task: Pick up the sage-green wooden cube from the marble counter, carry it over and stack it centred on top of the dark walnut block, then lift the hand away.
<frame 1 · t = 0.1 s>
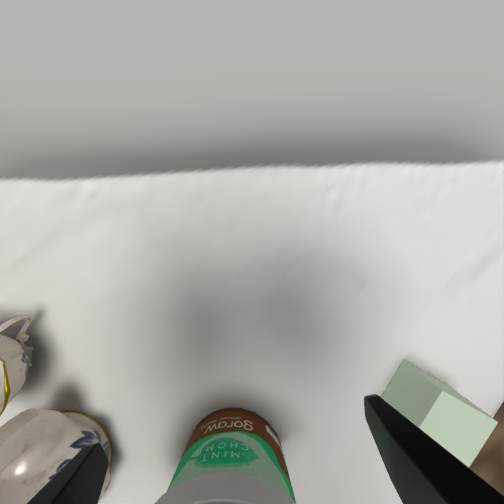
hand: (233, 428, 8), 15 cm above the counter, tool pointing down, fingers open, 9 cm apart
food container: (226, 425, 24), on the counter
sage cube: (411, 393, 24), on the counter
chinaware: (43, 443, 25), on the counter
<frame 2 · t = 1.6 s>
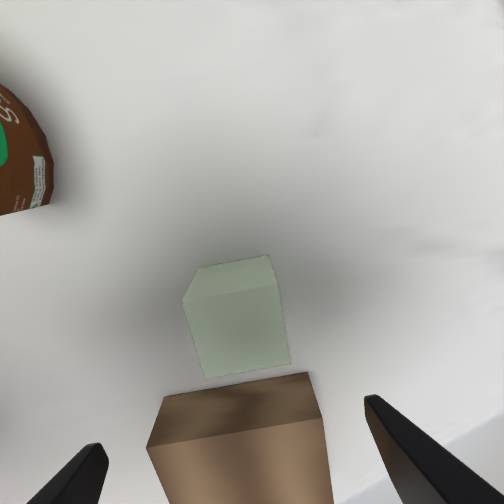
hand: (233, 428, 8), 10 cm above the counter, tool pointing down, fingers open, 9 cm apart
sage cube: (240, 292, 18), on the counter
walnut block: (248, 437, 22), on the counter
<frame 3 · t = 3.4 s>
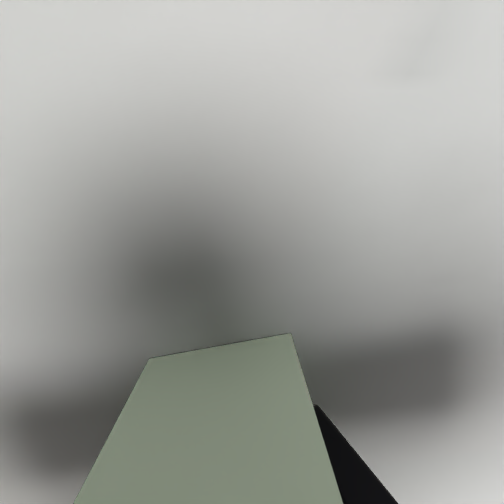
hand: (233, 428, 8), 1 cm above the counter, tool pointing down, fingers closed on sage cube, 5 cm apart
sage cube: (234, 401, 9), on the counter, touching gripper
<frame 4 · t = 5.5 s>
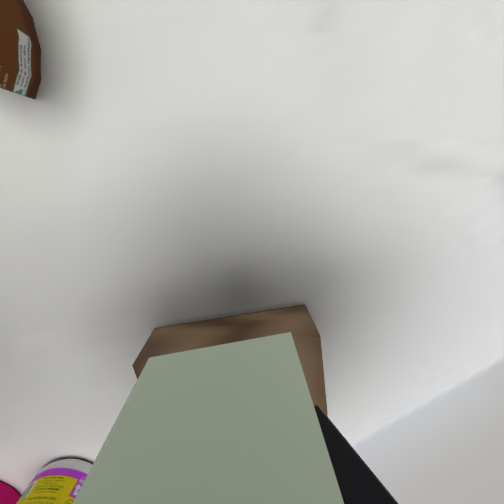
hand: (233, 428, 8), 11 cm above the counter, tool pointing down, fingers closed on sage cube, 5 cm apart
sage cube: (234, 400, 9), point 10 cm above the counter, touching gripper
supplement bottle: (76, 476, 24), on the counter
walnut block: (242, 377, 21), on the counter
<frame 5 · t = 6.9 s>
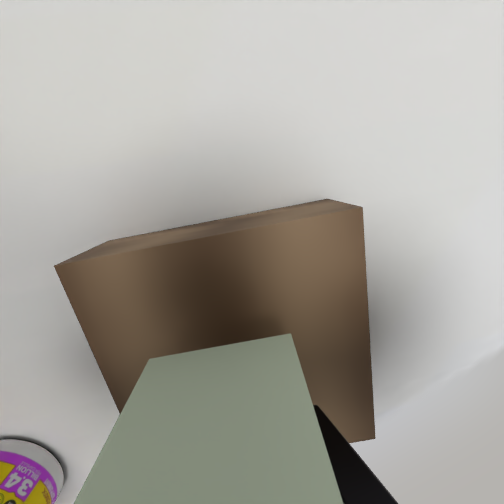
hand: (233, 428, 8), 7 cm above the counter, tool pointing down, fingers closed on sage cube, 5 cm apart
sage cube: (234, 401, 9), point 6 cm above the counter, touching gripper
supplement bottle: (23, 464, 18), on the counter
walnut block: (239, 316, 15), on the counter
when the fingers open (6 cm above the counter, at t = 7.8 s): sage cube drops 1 cm, resting on walnut block.
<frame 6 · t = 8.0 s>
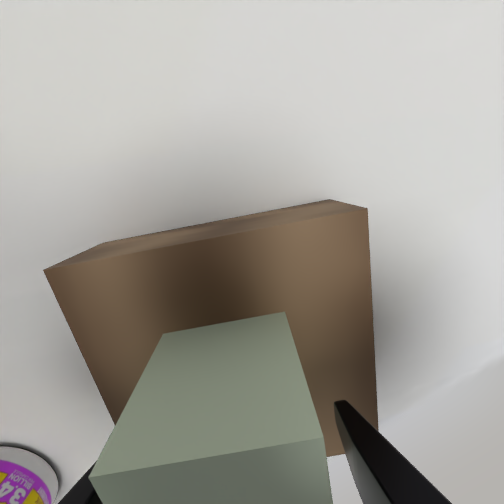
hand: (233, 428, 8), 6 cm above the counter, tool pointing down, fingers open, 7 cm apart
sage cube: (236, 372, 11), point 4 cm above the counter, touching walnut block
supplement bottle: (17, 471, 18), on the counter
walnut block: (238, 321, 14), on the counter
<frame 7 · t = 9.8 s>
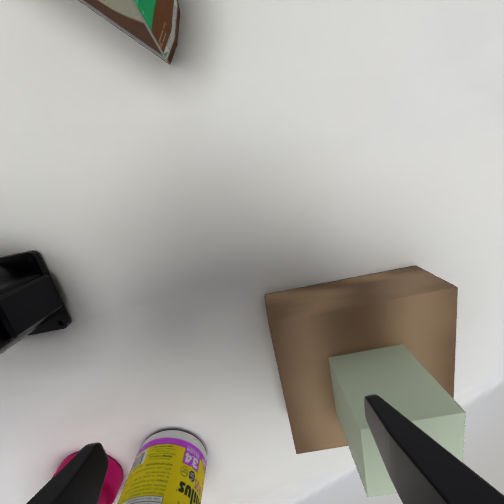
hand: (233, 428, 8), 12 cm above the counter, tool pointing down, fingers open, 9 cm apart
sage cube: (367, 380, 17), point 4 cm above the counter, touching walnut block
pepper mill: (94, 470, 25), on the counter
supplement bottle: (175, 448, 25), on the counter
walnut block: (346, 343, 21), on the counter
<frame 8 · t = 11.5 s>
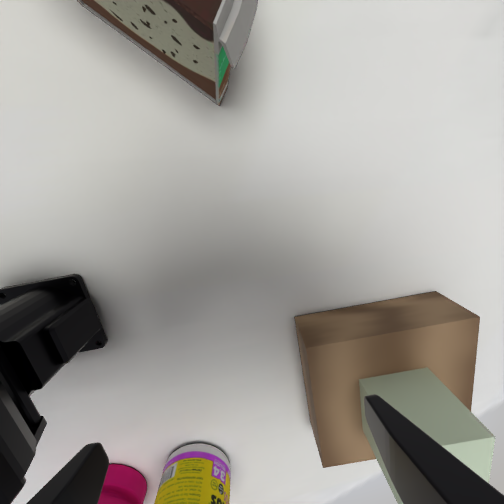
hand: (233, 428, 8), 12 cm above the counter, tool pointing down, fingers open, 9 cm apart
food container: (179, 10, 15), on the counter
sage cube: (393, 399, 19), point 4 cm above the counter, touching walnut block
pepper mill: (118, 482, 26), on the counter
supplement bottle: (199, 461, 26), on the counter
walnut block: (368, 362, 22), on the counter
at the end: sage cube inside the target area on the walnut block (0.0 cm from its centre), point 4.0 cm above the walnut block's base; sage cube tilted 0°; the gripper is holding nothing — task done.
